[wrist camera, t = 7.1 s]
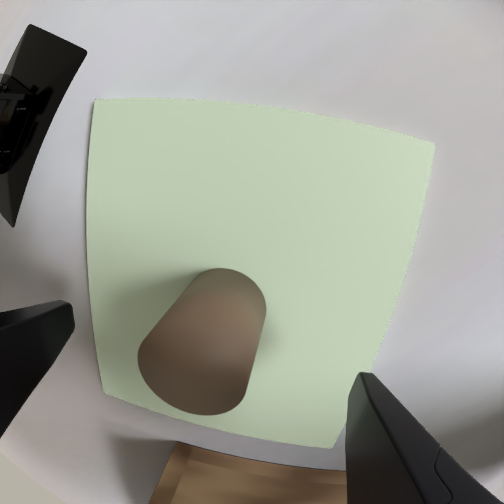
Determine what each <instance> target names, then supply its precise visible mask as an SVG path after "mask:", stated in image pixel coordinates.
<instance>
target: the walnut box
mask: <svg viewBox="0 0 504 504" xmlns="http://www.w3.org/2000/svg"><path fill="white" fill-rule="evenodd" d="M149 504H347V478H346V471H333V470H321V469H311V468H302V467H294V466H286V465H279V464H273V463H267V462H261V461H256V460H250V459H245V458H240V457H236V456H231V455H227V454H222V453H218V452H214V451H210V450H206V449H202V448H199V447H195V446H191V445H188V444H184V443H181V442H178V441H177V443H176V445H175V447H174V449H173V451H172V454H171V456H170V458H169V460H168V462H167V465H166V467H165V469H164V471H163V473H162V476H161V478H160V480H159V482H158V484H157V487H156V489H155V491H154V493H153V495H152V497H151V500H150V502H149Z"/></svg>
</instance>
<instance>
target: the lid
mask: <svg viewBox="0 0 504 504" xmlns="http://www.w3.org/2000/svg"><path fill="white" fill-rule="evenodd" d="M434 151H435V143H431V142H428V141H425V140H422V139H419V138H415V137H412V136H408V135H405V134H401V133H398V132H394V131H391V130H387V129H383V128H379V127H375V126H371V125H367V124H363V123H358V122H354V121H349V120H345V119H340V118H335V117H330V116H325V115H320V114H314V113H309V112H303V111H297V110H290V109H284V108H277V107H269V106H262V105H253V104H244V103H234V102H223V101H210V100H195V99H170V98H118V99H95V102H94V109H93V117H92V126H91V135H90V146H89V159H88V175H87V203H86V237H87V265H88V282H89V294H90V305H91V315H92V324H93V332H94V339H95V346H96V353H97V359H98V365H99V371H100V376H101V382H102V387H103V392H104V393H106V394H108V395H110V396H113V397H116V398H118V399H121V400H123V401H126V402H129V403H131V404H134V405H137V406H140V407H143V408H145V409H148V410H151V411H154V412H157V413H160V414H163V415H167V416H170V417H173V418H176V419H180V420H183V421H187V422H190V423H194V424H197V425H201V426H205V427H209V428H213V429H217V430H221V431H225V432H229V433H234V434H238V435H243V436H248V437H253V438H258V439H263V440H269V441H275V442H281V443H287V444H294V445H301V446H309V447H318V448H327V449H332V448H333V446H334V444H335V442H336V440H337V438H338V437H339V435H340V433H341V431H342V429H343V427H344V425H345V423H346V421H347V406H348V396H349V392H350V390H351V388H352V385H353V383H354V381H355V378H356V376H357V374H358V373H359V372H368V373H369V372H370V370H371V368H372V365H373V363H374V361H375V358H376V356H377V353H378V351H379V348H380V346H381V343H382V341H383V338H384V336H385V333H386V330H387V328H388V325H389V322H390V320H391V317H392V314H393V311H394V308H395V306H396V303H397V300H398V297H399V294H400V291H401V288H402V285H403V281H404V278H405V275H406V272H407V268H408V265H409V262H410V258H411V255H412V251H413V248H414V244H415V240H416V236H417V233H418V229H419V225H420V220H421V216H422V212H423V208H424V203H425V199H426V194H427V189H428V184H429V179H430V174H431V168H432V163H433V157H434Z"/></svg>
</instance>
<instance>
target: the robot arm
mask: <svg viewBox="0 0 504 504" xmlns="http://www.w3.org/2000/svg"><path fill="white" fill-rule="evenodd" d="M74 328H75V322H74V315H73V308H72V305H71V304H70V303H68V302H66V301H63V300H58V301H53V302H48V303H44V304H39V305H34V306H29V307H25V308H20V309H15V310H10V311H6V312H1V313H0V438H1V437H2V435H3V434H4V432H5V431H6V429H7V428H8V426H9V425H10V423H11V422H12V420H13V419H14V417H15V416H16V414H17V413H18V411H19V410H20V409H21V407H22V406H23V404H24V403H25V401H26V400H27V399H28V397H29V396H30V394H31V393H32V392H33V390H34V389H35V388H36V386H37V385H38V383H39V382H40V381H41V379H42V378H43V377H44V375H45V374H46V373H47V371H48V370H49V369H50V367H51V366H52V365H53V363H54V362H55V360H56V358H57V357H58V355H59V354H60V352H61V350H62V349H63V347H64V346H65V344H66V342H67V341H68V339H69V338H70V336H71V334H72V333H73V331H74ZM345 453H346V478H347V504H504V503H503V502H501V501H500V500H499V499H497V498H496V497H495V496H494V495H493V494H491V493H490V492H489V491H488V490H487V489H486V488H484V487H483V486H482V485H481V484H480V483H479V482H478V481H476V480H475V479H474V478H473V477H472V476H471V475H470V474H469V473H467V472H466V471H465V470H464V469H463V468H462V467H461V466H460V465H459V464H458V463H457V462H456V461H455V460H454V459H453V458H452V457H451V456H450V455H449V454H448V453H447V452H446V451H445V450H444V449H443V447H440V444H439V443H438V442H437V441H436V440H435V439H434V438H433V437H432V436H431V435H430V434H429V433H428V432H427V430H426V429H425V428H424V427H423V426H422V425H421V424H420V423H419V422H418V421H417V420H416V419H415V418H414V417H413V415H412V414H411V413H410V412H409V411H408V410H407V409H406V408H405V407H404V406H403V405H402V404H401V403H400V402H399V400H398V399H397V398H396V397H395V396H394V395H393V394H392V393H391V392H390V391H389V390H388V389H387V388H386V387H385V386H384V385H383V383H382V382H381V381H380V380H379V379H378V378H377V377H376V376H375V375H374V374H373V373H368V372H359V373H358V374H357V376H356V378H355V381H354V383H353V385H352V388H351V390H350V392H349V396H348V406H347V424H346V439H345Z"/></svg>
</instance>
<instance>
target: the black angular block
mask: <svg viewBox="0 0 504 504" xmlns="http://www.w3.org/2000/svg"><path fill="white" fill-rule="evenodd" d="M86 55H87V51H86V50H85V49H83V48H81V47H79V46H77V45H75V44H73V43H71V42H69V41H67V40H64V39H62V38H60V37H58V36H56V35H54V34H52V33H50V32H47V31H45V30H43V29H41V28H39V27H36V26H34V25H32V24H29V25H28V26H27V28H26V30H25V32H24V34H23V35H22V37H21V39H20V41H19V43H18V45H17V47H16V49H15V51H14V53H13V55H12V57H11V59H10V61H9V63H8V66H7V68H6V70H5V72H4V74H0V213H1V214H2V216H3V217H4V218H5V219H6V220H7V222H8V223H9V224H10V225H11V226H12V227H14V226H15V223H16V219H17V215H18V212H19V208H20V205H21V202H22V198H23V195H24V192H25V189H26V186H27V183H28V180H29V177H30V174H31V171H32V169H33V166H34V163H35V160H36V158H37V155H38V153H39V150H40V148H41V145H42V143H43V140H44V138H45V135H46V133H47V131H48V129H49V126H50V124H51V122H52V120H53V117H54V115H55V113H56V111H57V109H58V107H59V105H60V103H61V101H62V99H63V97H64V95H65V93H66V91H67V89H68V87H69V85H70V83H71V82H72V80H73V78H74V76H75V74H76V73H77V71H78V69H79V67H80V66H81V64H82V62H83V60H84V59H85V57H86Z"/></svg>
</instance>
